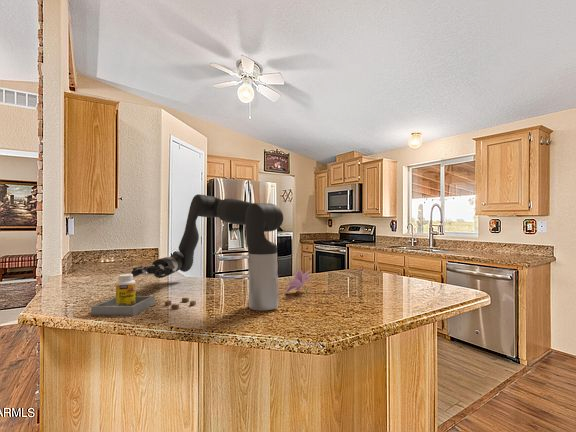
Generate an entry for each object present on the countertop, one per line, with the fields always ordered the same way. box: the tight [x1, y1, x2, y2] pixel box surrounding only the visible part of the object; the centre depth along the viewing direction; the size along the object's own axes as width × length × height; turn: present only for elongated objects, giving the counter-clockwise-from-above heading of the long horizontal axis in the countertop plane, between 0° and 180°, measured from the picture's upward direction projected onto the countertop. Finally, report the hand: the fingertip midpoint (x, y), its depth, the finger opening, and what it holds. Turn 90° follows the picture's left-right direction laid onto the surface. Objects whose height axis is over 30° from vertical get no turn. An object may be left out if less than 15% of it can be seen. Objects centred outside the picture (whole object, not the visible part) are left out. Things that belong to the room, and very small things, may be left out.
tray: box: [90, 295, 156, 317], centre depth 98 cm, size 13×13×3 cm
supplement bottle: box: [115, 273, 137, 306], centre depth 98 cm, size 6×6×10 cm
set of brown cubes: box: [164, 297, 197, 310], centre depth 102 cm, size 10×10×1 cm
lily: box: [285, 268, 312, 296], centre depth 115 cm, size 12×12×10 cm
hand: (144, 273), depth 110 cm, fingers open, 8 cm apart
